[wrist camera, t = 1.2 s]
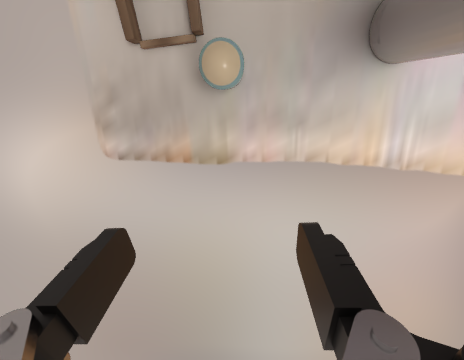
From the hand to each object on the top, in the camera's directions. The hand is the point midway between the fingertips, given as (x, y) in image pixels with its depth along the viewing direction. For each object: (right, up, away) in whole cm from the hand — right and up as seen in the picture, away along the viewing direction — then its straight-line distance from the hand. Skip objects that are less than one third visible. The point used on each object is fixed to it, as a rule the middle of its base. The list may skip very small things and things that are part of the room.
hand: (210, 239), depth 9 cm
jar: (0, +20, +21) cm, 29 cm away
